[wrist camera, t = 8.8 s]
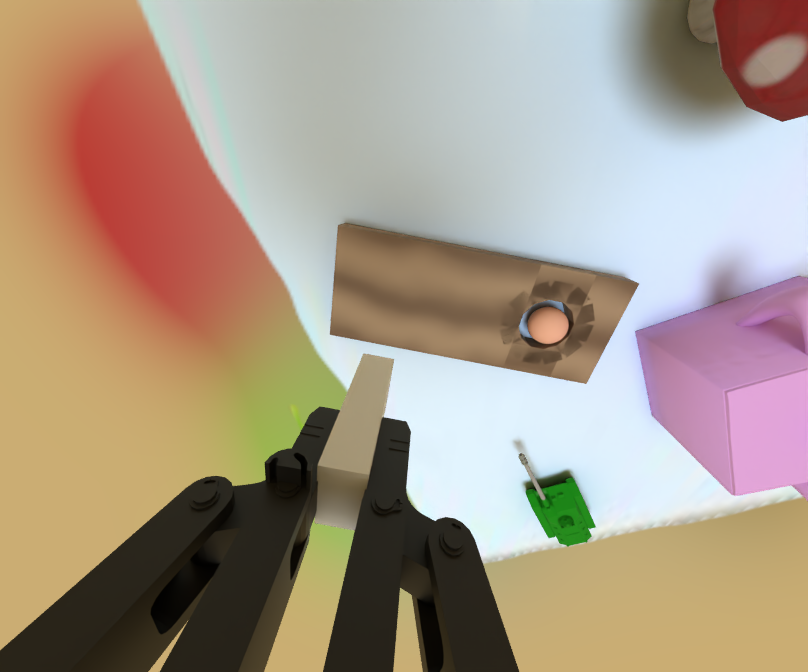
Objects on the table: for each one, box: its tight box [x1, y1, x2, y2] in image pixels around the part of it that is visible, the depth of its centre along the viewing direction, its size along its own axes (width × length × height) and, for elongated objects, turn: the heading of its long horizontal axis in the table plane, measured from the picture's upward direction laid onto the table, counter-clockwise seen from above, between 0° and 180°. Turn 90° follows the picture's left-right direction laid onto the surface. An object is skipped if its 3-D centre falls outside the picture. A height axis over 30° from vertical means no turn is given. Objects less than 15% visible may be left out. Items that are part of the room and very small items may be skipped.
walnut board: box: [330, 223, 639, 384], centre depth 33 cm, size 12×30×2 cm, turn 80°
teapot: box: [635, 276, 808, 501], centre depth 29 cm, size 15×25×14 cm, turn 26°
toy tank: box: [519, 453, 595, 546], centre depth 43 cm, size 7×19×5 cm, turn 29°
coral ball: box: [528, 307, 569, 344], centre depth 33 cm, size 4×4×4 cm
